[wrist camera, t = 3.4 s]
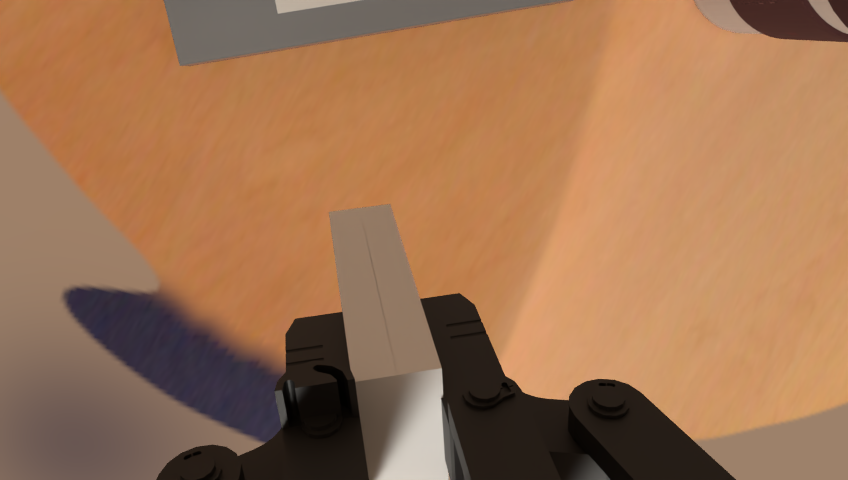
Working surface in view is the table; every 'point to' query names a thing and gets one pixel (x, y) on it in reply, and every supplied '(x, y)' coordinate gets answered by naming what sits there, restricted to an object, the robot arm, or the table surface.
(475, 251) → the table surface
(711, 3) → the coffee cup
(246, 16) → the power strip
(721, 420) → the table surface
